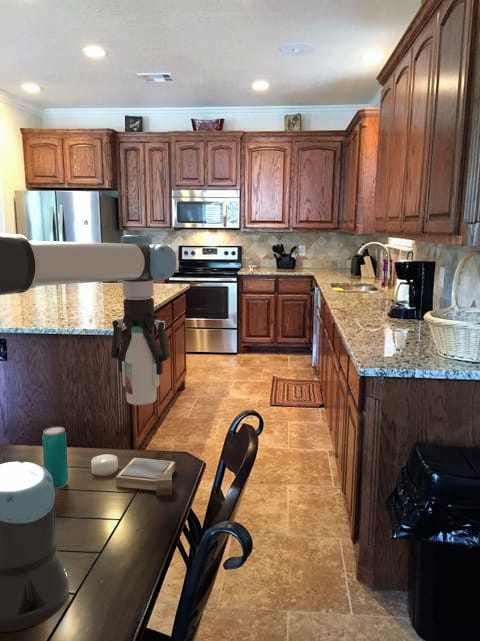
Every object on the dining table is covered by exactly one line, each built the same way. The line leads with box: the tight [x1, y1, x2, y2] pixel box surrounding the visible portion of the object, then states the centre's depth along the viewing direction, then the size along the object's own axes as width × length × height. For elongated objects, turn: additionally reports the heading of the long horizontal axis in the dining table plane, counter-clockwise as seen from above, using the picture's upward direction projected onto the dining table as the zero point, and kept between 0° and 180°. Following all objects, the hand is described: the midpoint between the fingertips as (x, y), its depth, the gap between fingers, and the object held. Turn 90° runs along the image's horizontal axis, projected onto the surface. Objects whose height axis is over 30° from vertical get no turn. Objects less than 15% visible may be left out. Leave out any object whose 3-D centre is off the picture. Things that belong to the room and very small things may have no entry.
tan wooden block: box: [155, 472, 173, 497], centre depth 126 cm, size 4×4×4 cm
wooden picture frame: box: [115, 457, 176, 491], centre depth 133 cm, size 12×12×3 cm
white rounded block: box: [90, 453, 119, 477], centre depth 137 cm, size 7×7×3 cm
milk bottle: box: [125, 326, 158, 406], centre depth 127 cm, size 8×8×20 cm
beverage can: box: [41, 426, 69, 491], centre depth 127 cm, size 6×6×15 cm
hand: (141, 385), depth 128 cm, fingers closed on milk bottle, 8 cm apart
